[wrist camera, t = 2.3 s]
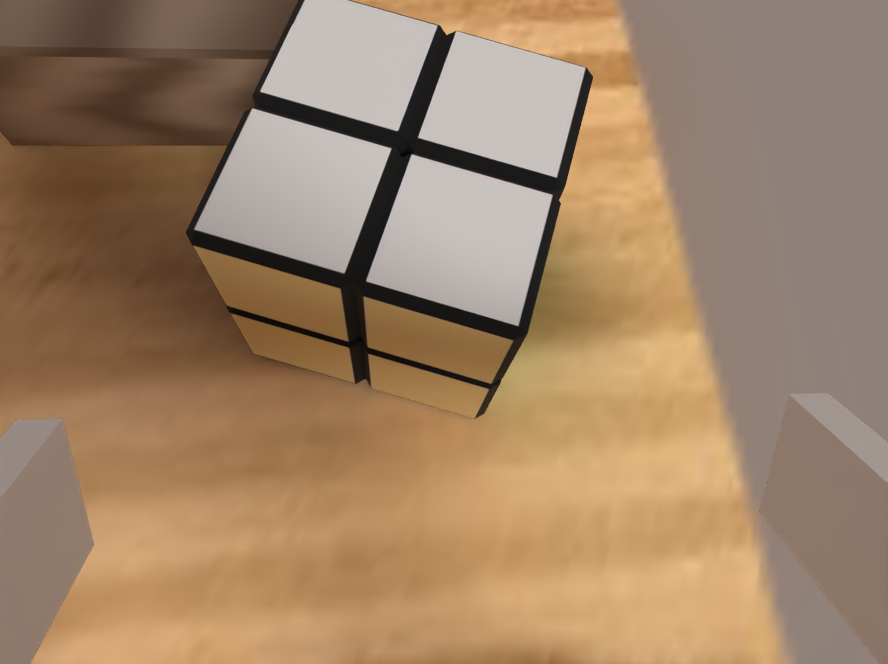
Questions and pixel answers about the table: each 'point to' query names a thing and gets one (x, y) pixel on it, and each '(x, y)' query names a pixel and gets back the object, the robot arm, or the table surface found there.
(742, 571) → the table surface
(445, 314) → the puzzle cube
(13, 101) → the walnut stand
